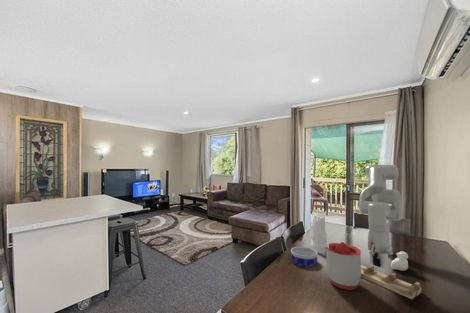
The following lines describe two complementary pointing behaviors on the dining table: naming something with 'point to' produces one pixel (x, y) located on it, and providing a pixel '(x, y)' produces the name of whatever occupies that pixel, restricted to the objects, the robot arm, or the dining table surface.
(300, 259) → the dog bowl
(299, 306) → the dining table surface
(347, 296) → the dining table surface
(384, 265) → the frame block
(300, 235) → the dining table surface
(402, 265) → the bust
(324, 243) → the white crystal cluster
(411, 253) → the dining table surface
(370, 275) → the wooden rack
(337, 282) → the citrus juicer
